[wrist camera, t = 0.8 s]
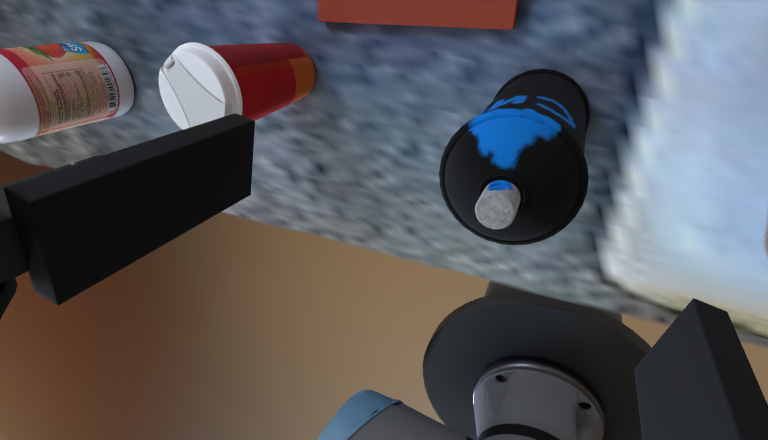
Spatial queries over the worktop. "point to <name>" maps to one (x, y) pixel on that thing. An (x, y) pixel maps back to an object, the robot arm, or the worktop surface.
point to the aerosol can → (520, 161)
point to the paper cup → (233, 80)
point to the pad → (422, 12)
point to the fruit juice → (60, 88)
